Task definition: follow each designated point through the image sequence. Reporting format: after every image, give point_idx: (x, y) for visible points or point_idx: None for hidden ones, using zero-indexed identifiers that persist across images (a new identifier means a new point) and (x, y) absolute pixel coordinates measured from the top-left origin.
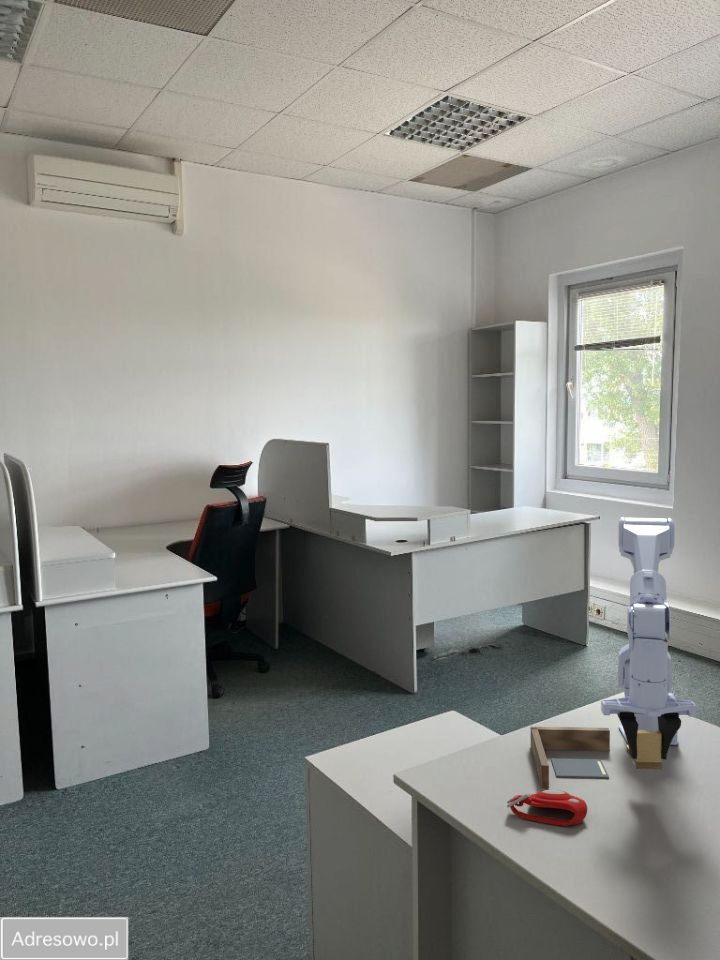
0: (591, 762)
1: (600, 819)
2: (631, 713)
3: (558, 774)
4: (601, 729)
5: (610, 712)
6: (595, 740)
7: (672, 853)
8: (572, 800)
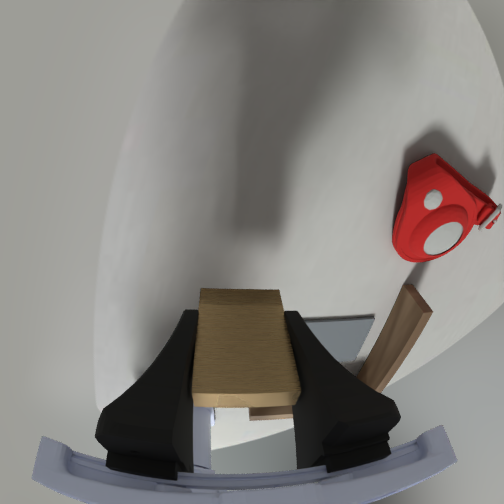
0: None
1: (368, 175)
2: (345, 466)
3: (370, 321)
4: (263, 417)
5: (411, 445)
6: None
7: (257, 33)
8: (440, 196)
